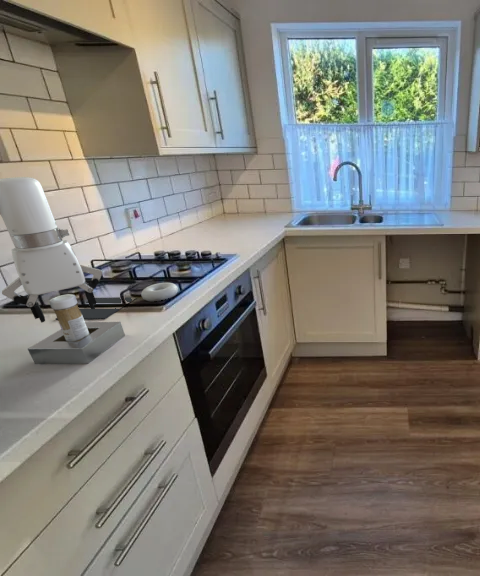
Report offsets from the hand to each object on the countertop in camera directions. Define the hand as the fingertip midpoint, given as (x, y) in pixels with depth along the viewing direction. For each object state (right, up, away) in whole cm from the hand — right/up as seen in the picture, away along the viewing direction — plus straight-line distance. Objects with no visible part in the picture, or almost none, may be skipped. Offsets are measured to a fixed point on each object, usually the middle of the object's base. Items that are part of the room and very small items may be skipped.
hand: (68, 313), depth 82 cm
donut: (+2, +3, +31) cm, 32 cm away
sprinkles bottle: (0, -9, +4) cm, 10 cm away
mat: (-12, 0, +24) cm, 27 cm away
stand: (0, -9, +4) cm, 10 cm away
